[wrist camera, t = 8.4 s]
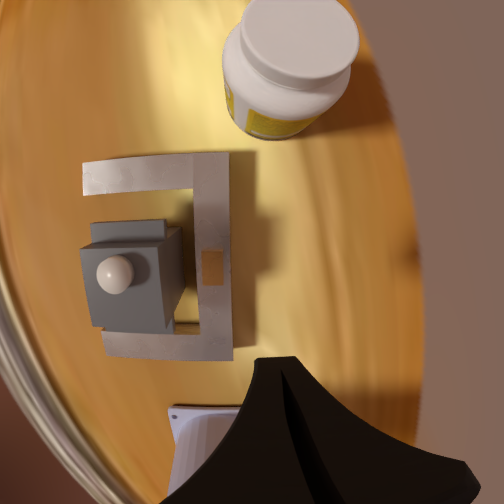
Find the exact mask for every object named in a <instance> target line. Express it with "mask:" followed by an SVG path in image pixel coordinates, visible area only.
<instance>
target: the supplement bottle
mask: <svg viewBox="0 0 504 504" xmlns="http://www.w3.org/2000/svg"><path fill="white" fill-rule="evenodd" d="M359 45H360V38H359V32H358V29H357V26H356V23H355V22H354V20H353V18H352V17H351V15H350V14H349V12H348V11H347V10H346V9H345V8H344V7H343V6H342V5H341V4H340V3H339V2H337V1H336V0H252V1H251V2H250V3H249V4H248V6H247V7H246V9H245V11H244V13H243V16H242V19H241V22H240V23H239V24H238V25H237V26H236V27H235V28H234V29H233V30H232V31H231V33H230V34H229V36H228V37H227V40H226V42H225V45H224V48H223V54H222V68H223V76H224V86H225V95H226V103H227V108H228V111H229V114H230V116H231V118H232V120H233V121H234V123H235V124H236V125H237V126H238V127H239V128H240V129H241V130H242V131H243V132H245V133H246V134H248V135H250V136H252V137H254V138H257V139H260V140H265V141H279V140H284V139H287V138H290V137H292V136H294V135H296V134H298V133H299V132H301V131H302V130H303V129H304V128H306V127H307V126H308V125H310V124H311V123H312V122H313V121H315V120H316V119H317V118H318V117H320V116H321V115H322V114H323V113H324V112H326V111H327V110H328V109H329V108H331V107H332V106H333V105H334V104H335V103H336V102H337V101H338V100H339V98H340V97H341V96H342V95H343V93H344V91H345V90H346V88H347V85H348V83H349V79H350V73H351V64H352V63H353V61H354V59H355V58H356V56H357V53H358V50H359Z"/></svg>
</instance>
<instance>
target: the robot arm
mask: <svg viewBox="0 0 504 504" xmlns="http://www.w3.org/2000/svg"><path fill="white" fill-rule="evenodd" d="M168 415H169V419H170V424H171V428H172V432H173V436H174V440H175V443H176V450H175V455H174V460H173V466H172V471H171V477H170V483H169V488H168V494H167V498H165V499H164V500H163V501H162V502H160V503H159V504H470V503H472V501H473V500H474V499H475V498H476V496H477V495H478V493H479V491H480V489H481V486H480V484H479V482H478V480H477V479H476V477H475V476H474V474H473V473H472V471H471V470H470V468H469V467H468V466H467V464H466V463H465V462H464V461H460V460H456V459H452V458H447V457H444V456H440V455H436V454H432V453H429V452H426V451H424V450H421V449H418V448H415V447H413V446H410V445H408V444H406V443H403V442H401V441H399V440H397V439H395V438H393V437H391V436H389V435H387V434H385V433H383V432H381V431H379V430H378V429H376V428H374V427H373V426H371V425H369V424H368V423H366V422H365V421H363V420H362V419H360V418H359V417H357V416H356V415H355V414H353V413H352V412H351V411H349V410H348V409H347V408H346V407H345V406H343V405H342V404H341V403H340V402H339V401H337V400H336V399H335V398H334V397H333V396H332V395H331V394H330V393H329V392H328V391H327V390H326V389H325V388H324V387H323V386H322V385H321V384H320V383H319V382H318V381H317V380H316V379H315V378H314V377H313V376H312V375H311V374H310V372H309V371H308V370H307V369H306V368H305V367H304V366H303V364H302V363H301V362H300V361H299V360H298V358H296V357H295V356H288V357H267V358H257V359H256V360H255V361H254V373H253V377H252V380H251V384H250V386H249V389H248V392H247V395H246V397H245V399H244V402H243V404H242V406H241V407H186V406H170V407H169V408H168ZM174 415H176V416H174Z"/></svg>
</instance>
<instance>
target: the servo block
mask: <svg viewBox="0 0 504 504" xmlns="http://www.w3.org/2000/svg"><path fill="white" fill-rule="evenodd" d="M90 227H91V238H92V243H91V244H89V245H87V246H85V247H83V248H81V249H80V257H81V264H82V271H83V278H84V284H85V290H86V296H87V301H88V306H89V311H90V316H91V321H92V326H94V327H105V329H106V331H107V332H122V333H141V334H169V335H174V332H175V330H176V328H175V320H174V311H175V309H176V307H177V305H178V303H179V300H180V298H181V296H182V294H183V292H184V290H185V277H184V263H183V246H182V227H167V222H166V219H147V220H126V221H107V222H94V223H91V224H90Z"/></svg>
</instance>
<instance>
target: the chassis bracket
mask: <svg viewBox="0 0 504 504" xmlns="http://www.w3.org/2000/svg"><path fill="white" fill-rule="evenodd" d="M191 188H193V200H194V233H195V257H196V276H197V292H198V307H199V320H200V324H175V328H176V330H175V332H174V335H169V334H141V333H122V332H107V331H106V329H105V327H104V328H103V329H102V330H101V334H102V338H103V343H104V347H105V351H106V355H107V356H116V357H127V358H141V359H157V360H181V361H233V323H232V289H231V244H230V154H229V152H207V153H184V154H168V155H154V156H142V157H131V158H121V159H112V160H103V161H96V162H88V163H83V196H84V195H95V194H106V193H119V192H133V191H149V190H167V189H191Z"/></svg>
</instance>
